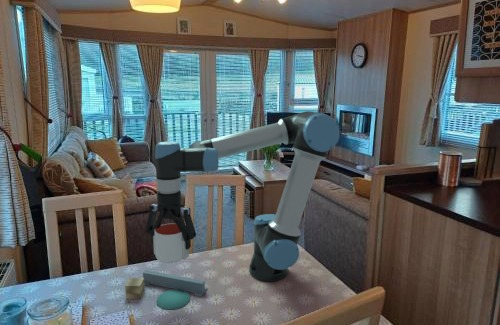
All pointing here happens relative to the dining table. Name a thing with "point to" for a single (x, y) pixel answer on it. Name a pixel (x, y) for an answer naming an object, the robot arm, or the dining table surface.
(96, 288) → the dining table surface
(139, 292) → the oak block
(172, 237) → the cup
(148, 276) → the rail
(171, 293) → the coaster
